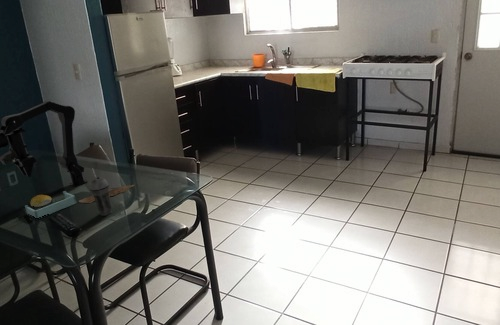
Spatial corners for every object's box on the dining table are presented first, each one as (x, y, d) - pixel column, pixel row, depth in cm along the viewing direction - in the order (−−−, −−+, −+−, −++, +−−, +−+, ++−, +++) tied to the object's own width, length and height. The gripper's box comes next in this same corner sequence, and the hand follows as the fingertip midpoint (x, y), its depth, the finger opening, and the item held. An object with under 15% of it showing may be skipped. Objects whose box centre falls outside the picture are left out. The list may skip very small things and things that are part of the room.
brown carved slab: (80, 206, 178) (80, 204, 177) (76, 199, 187) (76, 197, 186) (138, 189, 190) (138, 187, 189) (131, 183, 199) (131, 181, 198)
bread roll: (44, 199, 192) (41, 191, 191) (55, 201, 187) (52, 193, 186) (27, 206, 186) (24, 198, 184) (38, 209, 181) (35, 200, 180)
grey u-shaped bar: (27, 214, 176) (24, 205, 175) (67, 198, 188) (64, 190, 187) (36, 219, 169) (33, 210, 168) (77, 203, 182) (74, 194, 180)
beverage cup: (118, 209, 169) (107, 164, 163) (107, 217, 163) (95, 170, 156) (104, 208, 172) (93, 164, 165) (93, 216, 165) (80, 170, 159)
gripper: (-10, 146, 183) (1, 179, 188) (5, 151, 171) (16, 185, 176) (16, 139, 191) (26, 171, 196) (32, 144, 179) (42, 177, 184)
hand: (27, 176), depth 188 cm, fingers open, 5 cm apart
